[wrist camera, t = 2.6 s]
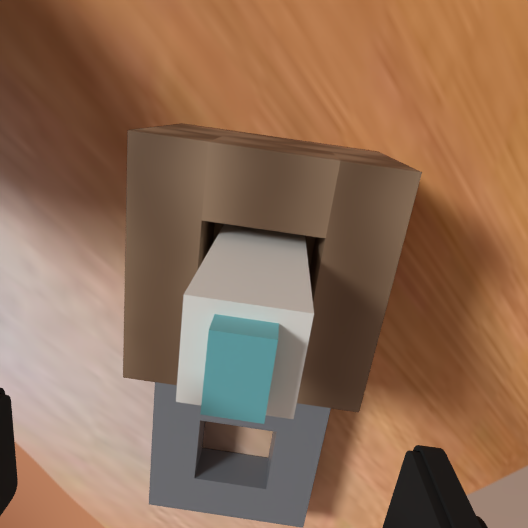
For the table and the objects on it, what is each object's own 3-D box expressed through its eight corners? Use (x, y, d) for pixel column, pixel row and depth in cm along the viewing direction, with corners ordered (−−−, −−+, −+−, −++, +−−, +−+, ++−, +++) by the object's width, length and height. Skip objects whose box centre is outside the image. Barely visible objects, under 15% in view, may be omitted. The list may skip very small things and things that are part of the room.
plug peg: (303, 227, 22) (315, 329, 12) (292, 295, 23) (293, 441, 13) (228, 216, 22) (175, 309, 12) (221, 285, 24) (167, 422, 13)
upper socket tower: (378, 151, 25) (421, 172, 17) (339, 326, 30) (359, 412, 21) (181, 123, 25) (127, 130, 17) (170, 301, 30) (123, 377, 21)
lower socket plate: (328, 373, 31) (332, 400, 28) (302, 494, 35) (303, 527, 32) (167, 349, 31) (155, 373, 28) (160, 472, 35) (148, 504, 32)
